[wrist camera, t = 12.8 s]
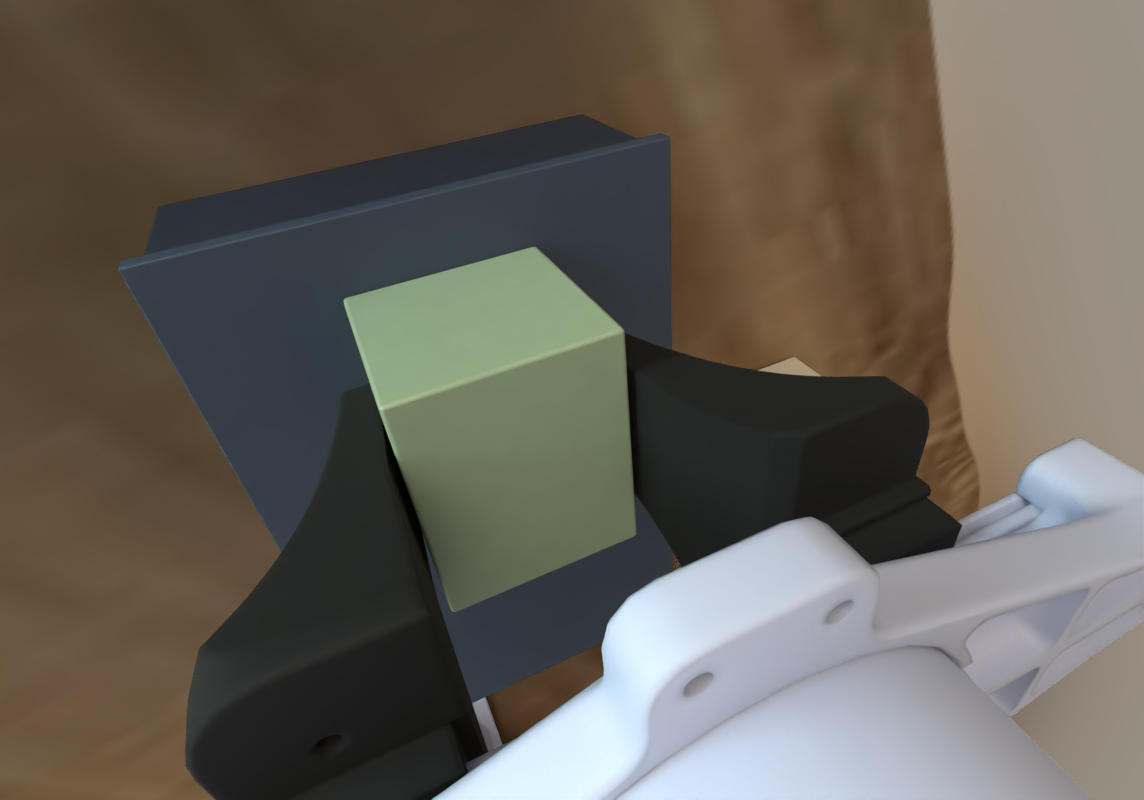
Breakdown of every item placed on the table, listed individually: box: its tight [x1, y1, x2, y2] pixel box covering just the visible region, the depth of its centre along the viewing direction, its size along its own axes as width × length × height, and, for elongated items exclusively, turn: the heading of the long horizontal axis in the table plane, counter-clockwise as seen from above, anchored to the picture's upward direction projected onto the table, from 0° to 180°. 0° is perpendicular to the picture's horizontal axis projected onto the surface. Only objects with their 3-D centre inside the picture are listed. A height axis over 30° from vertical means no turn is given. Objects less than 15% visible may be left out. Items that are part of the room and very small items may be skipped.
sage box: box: [343, 247, 636, 612], centre depth 13 cm, size 5×4×4 cm
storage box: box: [118, 115, 673, 703], centre depth 18 cm, size 16×10×4 cm, turn 7°
